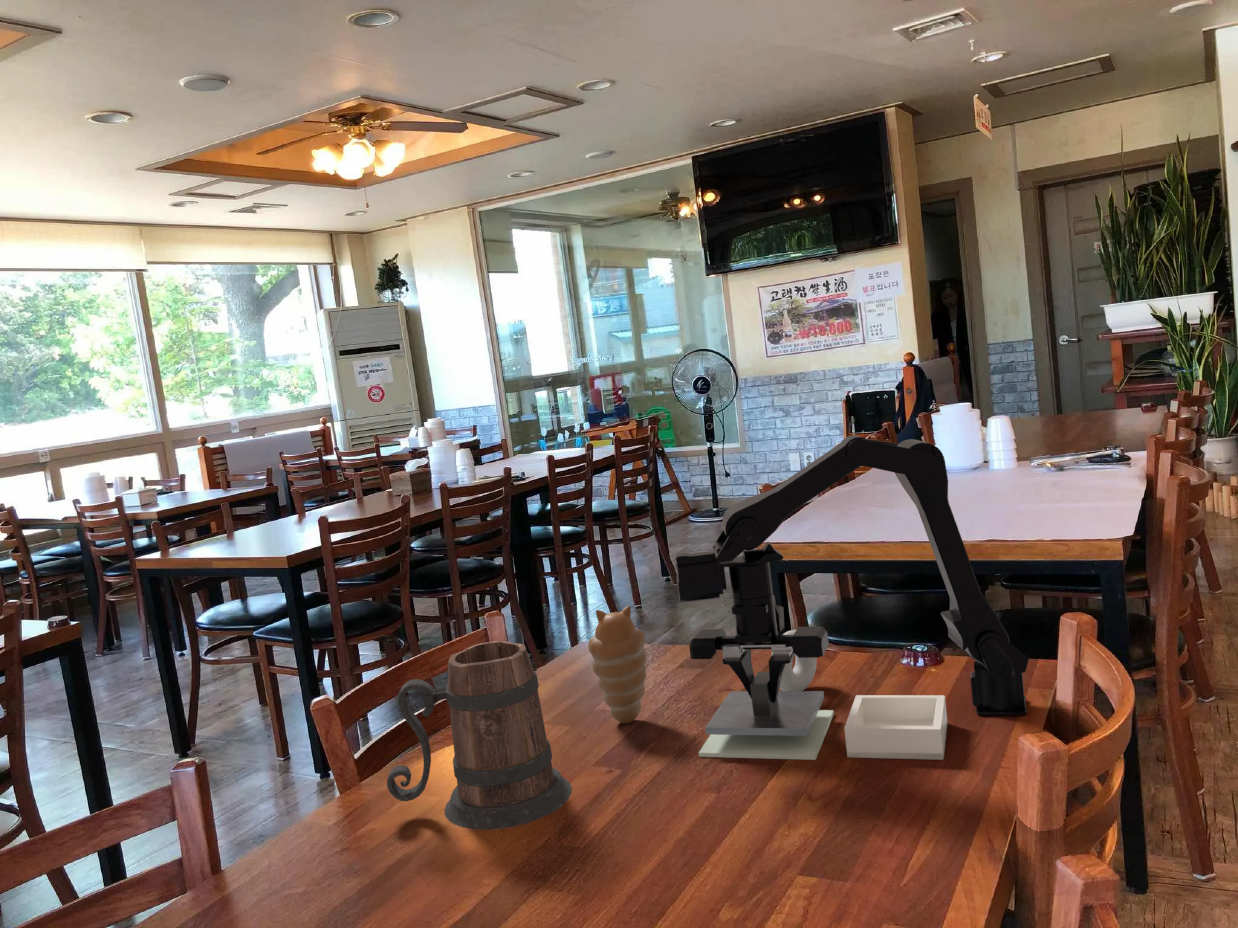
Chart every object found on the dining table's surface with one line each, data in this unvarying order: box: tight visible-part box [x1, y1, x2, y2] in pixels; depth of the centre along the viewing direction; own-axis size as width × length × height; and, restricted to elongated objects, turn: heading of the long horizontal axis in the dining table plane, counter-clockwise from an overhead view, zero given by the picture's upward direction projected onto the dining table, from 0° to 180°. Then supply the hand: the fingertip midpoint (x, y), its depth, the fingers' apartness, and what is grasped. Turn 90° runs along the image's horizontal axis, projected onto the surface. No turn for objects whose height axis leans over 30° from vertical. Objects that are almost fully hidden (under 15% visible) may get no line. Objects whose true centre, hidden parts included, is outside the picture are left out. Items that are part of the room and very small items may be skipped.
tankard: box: [386, 640, 573, 831], centre depth 129 cm, size 24×17×20 cm
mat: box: [698, 709, 835, 761], centre depth 140 cm, size 16×16×1 cm
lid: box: [704, 671, 825, 736], centre depth 140 cm, size 14×14×6 cm
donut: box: [770, 629, 818, 691], centre depth 155 cm, size 10×4×10 cm, turn 135°
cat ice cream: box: [587, 605, 648, 724], centre depth 151 cm, size 9×8×18 cm
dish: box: [844, 694, 949, 761], centre depth 133 cm, size 12×12×4 cm
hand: (765, 701), depth 140 cm, fingers closed on lid, 2 cm apart
